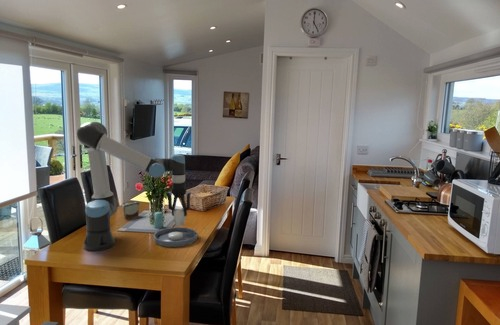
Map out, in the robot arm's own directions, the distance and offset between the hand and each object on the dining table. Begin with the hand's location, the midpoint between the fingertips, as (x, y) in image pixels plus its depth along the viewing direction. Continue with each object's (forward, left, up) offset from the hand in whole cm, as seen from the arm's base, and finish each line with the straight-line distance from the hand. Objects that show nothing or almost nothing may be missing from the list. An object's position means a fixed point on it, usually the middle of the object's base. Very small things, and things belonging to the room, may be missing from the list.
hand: (179, 221), depth 218 cm
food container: (+27, +42, -8) cm, 51 cm away
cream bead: (0, 0, -2) cm, 2 cm away
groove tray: (-8, 0, -8) cm, 11 cm away
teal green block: (+10, +16, -8) cm, 21 cm away
